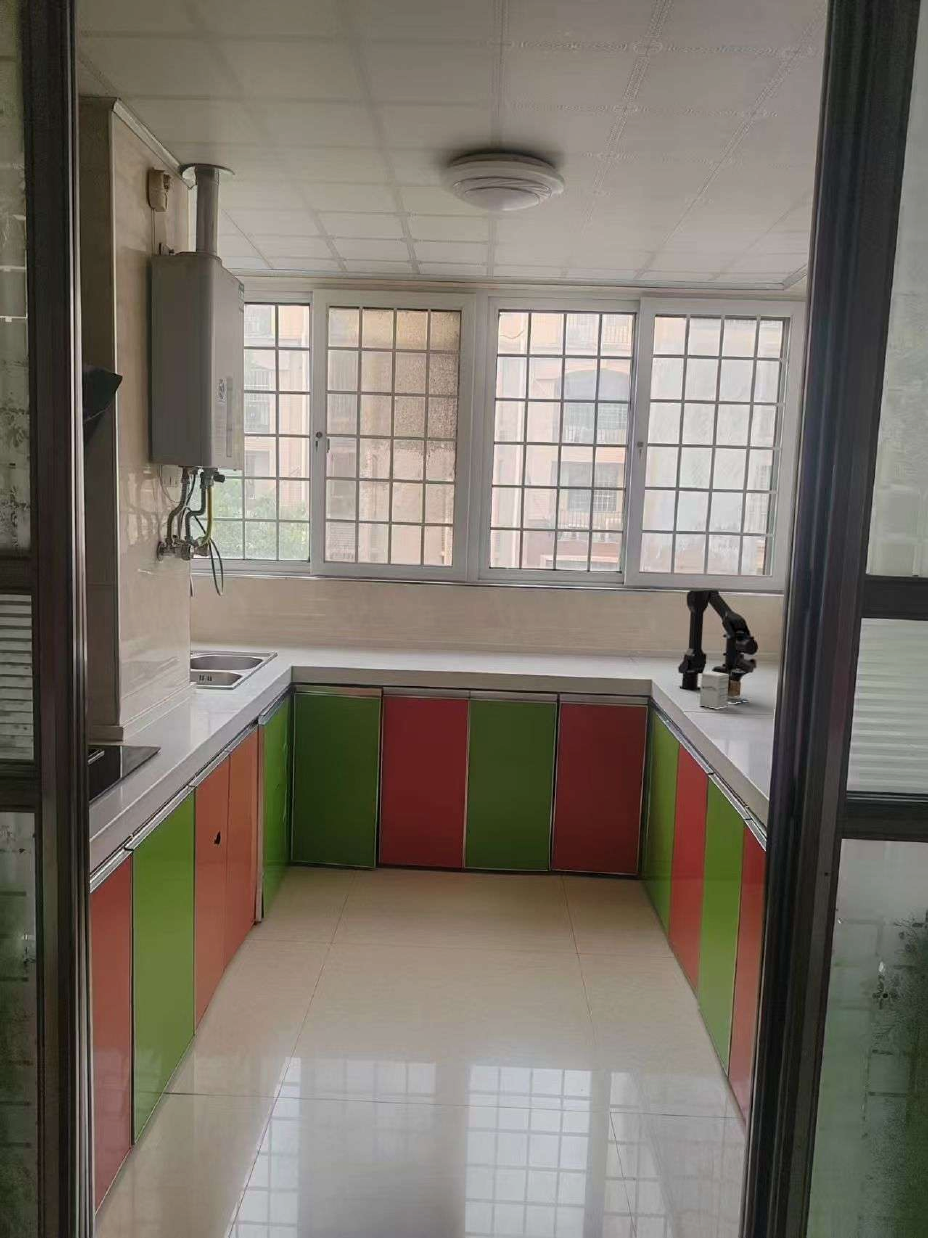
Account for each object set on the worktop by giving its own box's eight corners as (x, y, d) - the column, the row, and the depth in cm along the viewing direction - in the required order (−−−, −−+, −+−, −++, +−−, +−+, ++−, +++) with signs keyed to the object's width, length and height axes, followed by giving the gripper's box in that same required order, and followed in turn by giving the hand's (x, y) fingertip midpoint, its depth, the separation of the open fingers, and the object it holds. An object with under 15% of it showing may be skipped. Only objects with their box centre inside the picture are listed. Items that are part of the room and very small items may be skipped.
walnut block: (728, 693, 370) (729, 680, 369) (740, 695, 366) (741, 682, 366) (721, 694, 366) (722, 681, 366) (732, 696, 363) (733, 683, 362)
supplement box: (698, 706, 355) (700, 672, 353) (709, 704, 360) (711, 670, 358) (716, 710, 349) (718, 675, 348) (727, 707, 355) (729, 673, 353)
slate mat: (727, 697, 373) (727, 695, 373) (747, 701, 367) (748, 699, 367) (712, 700, 366) (712, 698, 366) (733, 704, 360) (733, 702, 360)
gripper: (739, 655, 352) (736, 698, 354) (765, 651, 365) (763, 692, 367) (712, 651, 360) (710, 693, 362) (739, 647, 373) (736, 687, 375)
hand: (730, 691), depth 366 cm, fingers closed on walnut block, 5 cm apart
